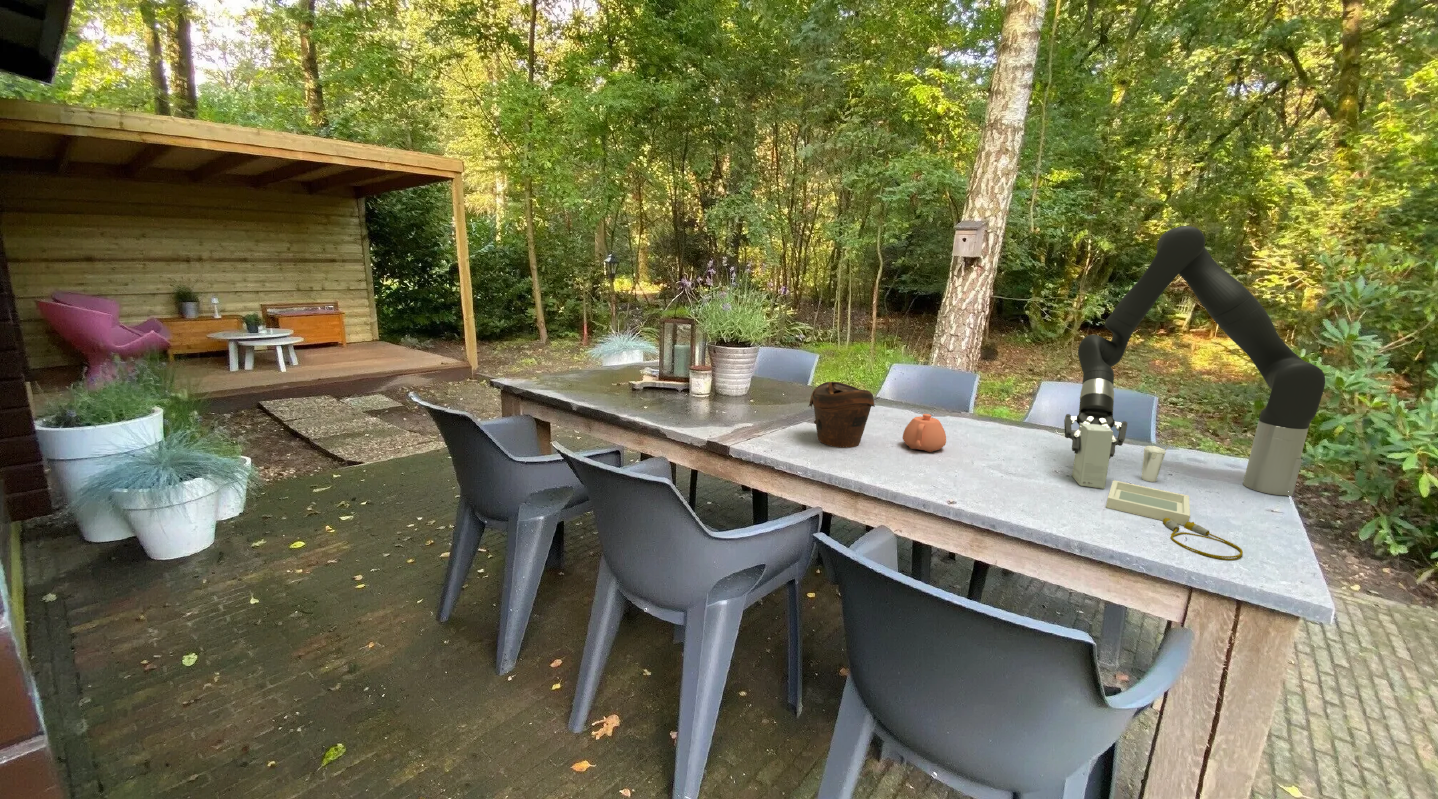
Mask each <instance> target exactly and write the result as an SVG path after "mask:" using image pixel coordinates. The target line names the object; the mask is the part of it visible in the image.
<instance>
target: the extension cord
mask: <svg viewBox="0 0 1438 799" xmlns="http://www.w3.org/2000/svg"><path fill="white" fill-rule="evenodd" d="M1162 524H1163V525H1165V527H1166V528H1168V529H1169V530H1172V533H1171V534H1170V539H1171V541H1172V542H1173V543H1175V544H1176V545H1178V546H1179V547H1181V548H1184V549H1185V550H1187V551H1189V552H1191V553H1194V554H1197V555H1201V556H1204V557H1208V558H1213V559H1217V560H1223V561H1235V560H1239V559H1240V558H1241V557H1242V556H1243V553H1244V550H1243V549H1242V548H1241V547H1240V546H1238V545H1237V544H1234V543H1233V542H1231V541H1229V540H1226V539H1224V538H1221V537H1219V536H1217V535H1215V534H1213V533H1210V530H1209V529H1206V528H1204V527H1203V526H1201V525H1199V524H1196V523H1195V522H1194V521H1192V522H1191V521H1189V522H1187V523H1186V524H1185V526H1184V525H1183V528H1184V529H1187V531H1188V530H1189V531H1191V532H1194V533H1190V532H1185V531H1183V532H1179V531H1180V524H1178V523H1175V522H1174V521H1173V520H1171V519H1169V518H1164V519H1163V520H1162ZM1196 533H1197V534H1196ZM1178 535H1189V536H1195V537H1201V538H1204V539H1205V538H1206V539H1209V540H1213V541H1216V542H1219V543H1222V544H1226V545H1228V546H1231V547H1233V548H1235V549H1236V550H1238V551H1239V553H1238V554H1235V555H1217V554H1212V553H1209V552H1205V551H1201V550H1198V549H1195V548H1192V547H1190V546H1188V545H1186V544H1184V543H1182V542H1179V541H1178V540H1176V539H1175V538H1174V537H1175V536H1178Z"/></svg>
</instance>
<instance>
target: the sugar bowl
mask: <svg viewBox="0 0 1438 799" xmlns="http://www.w3.org/2000/svg"><path fill="white" fill-rule="evenodd" d="M902 441H903V442H904V443H905V445H907V447H909V449H912V450H920V451H925V452H927V453H933V452H934V451H939V450H941V449H942V448H944V447H945V446H946V444H947V436H946V431H945V428H944V427H943V425H942V423H941V421H940V420H939V419H938V418H934V417H932V414H930V413H922V416H915V417H913V418H912V419H911V420H910V421H909V423H907V425H906V426H905V429H904V430H903V434H902Z"/></svg>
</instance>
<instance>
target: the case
mask: <svg viewBox="0 0 1438 799" xmlns="http://www.w3.org/2000/svg"><path fill="white" fill-rule="evenodd" d="M809 407H810V409H811V410H812V407H813V410H814V411H813V412H814V419H815V420H813V423H814V424H815V428H816V435H817V437H816V438H817V440H818V441H819V442H820V443H822V444H824V445H826V446H829V447H833V448H834V447H835V448H854V447H857V446H859V445H860V444H861V441H862V438H863V435H864V434H863V433H864V432H865V428H866V425H867V421H868V420H869V416H870V411H871V408H872V407H875V399H874V393H872V391H870V390H867V389H859V388H858V387H855V386H852V385H850V384H846V383H842V382H837V381H826V382H823V383H820V384H818V386H816V387H815V389H813V391H812V393H811V395H810V400H809V405H808V408H809Z"/></svg>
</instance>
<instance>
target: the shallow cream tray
mask: <svg viewBox="0 0 1438 799" xmlns="http://www.w3.org/2000/svg"><path fill="white" fill-rule="evenodd" d="M1190 504H1191V503H1190V495H1187V494H1183V493H1182V494H1181V493H1177V492H1173V491H1168V490H1164V489H1158V488H1155V487H1154V488H1153V487H1149V486H1143V485H1138V484H1133V483H1128V482H1125V481H1119V480H1114V479H1113V480H1112V483H1111V486H1110V490H1109V493H1108V496H1107V501H1106V505H1105V508H1107V509H1110V510H1114V511H1119V512H1124V513H1129V514H1132V515H1133V514H1134V515H1138V516H1140V517H1141V516H1142V517H1145V518H1150V519H1154V520H1159V521H1163V519H1164V518H1169V519H1171V520H1173V521H1174V522H1175V523H1178V524H1177V525H1179V526H1183V527H1184V526H1185V524H1186V523H1187V522H1190V518H1191V507H1190V506H1191V505H1190Z"/></svg>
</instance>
